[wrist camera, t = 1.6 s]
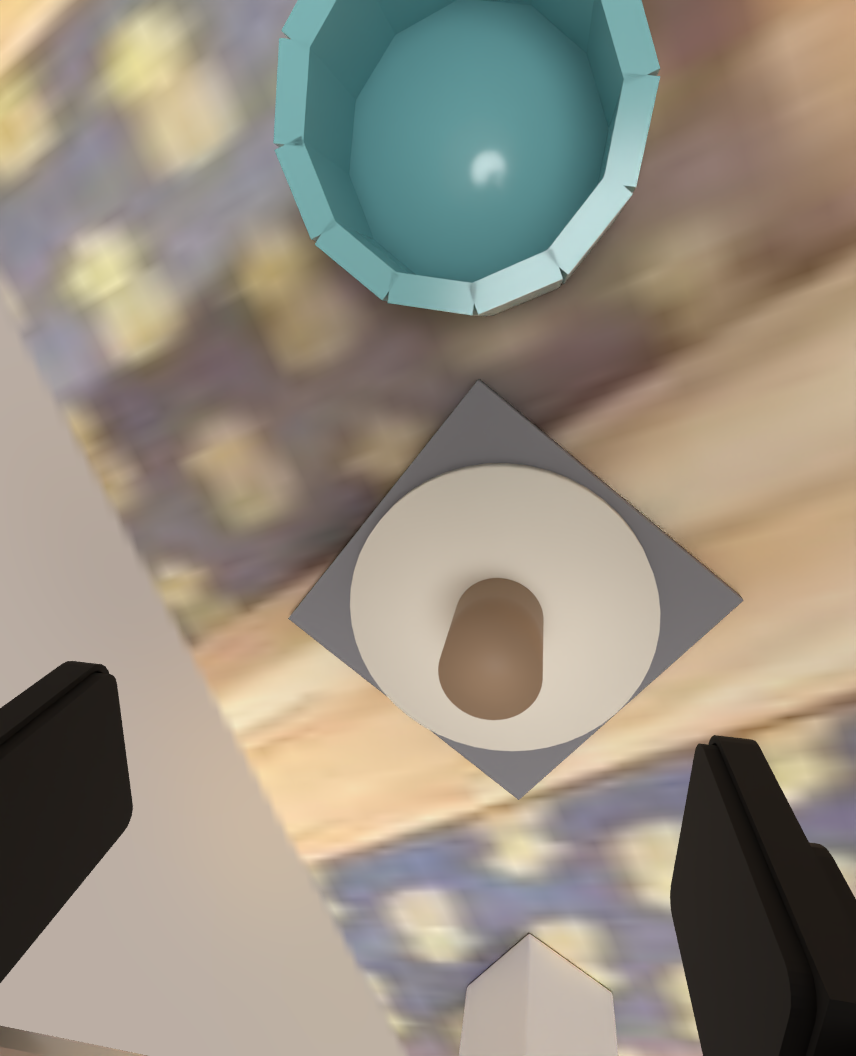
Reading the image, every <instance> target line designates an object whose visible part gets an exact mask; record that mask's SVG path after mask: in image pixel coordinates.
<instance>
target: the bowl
mask: <svg viewBox="0 0 856 1056" xmlns="http://www.w3.org/2000/svg"><path fill="white" fill-rule="evenodd" d="M281 31H282V32H283V33H284V34H285V35H286V36H287V37H288V38H289V39H285V38H279V53H278V71H277V89H276V107H275V125H274V144H276V145H277V146H279V148H278V149H276V150H275V152H276V155H277V157H278V159H279V162H280V164H281V167H282V169H283V172H284V174H285V177H286V179H287V182H288V184H289V186H290V189H291V191H292V194H293V196H294V199H295V201H296V204H297V206H298V209H299V211H300V213H301V216H302V218H303V221H304V223H305V226H306V228H307V231H308V233H309V236H310V238H311V239H312V240H315V241H317V242H316V243H315V245H316V246H317V247H318V248H320V249H321V250H322V251H323V252H325V253H326V254H327V255H328V256H329V257H331V258H332V259H333V260H334V261H335V262H337V263H338V264H339V265H340V266H341V267H343V268H344V269H345V270H346V271H347V272H349V273H350V274H351V275H352V276H353V277H355V278H356V279H357V280H358V281H359V282H361V283H362V284H363V285H364V286H365V287H367V288H368V289H369V290H370V291H371V292H373V293H374V294H375V295H376V296H378V297H379V298H380V299H381V300H383V301H388V303H392V304H398V305H405V306H412V307H419V308H425V309H432V310H439V311H446V312H452V313H459V314H466V315H474V316H488V315H490V316H493V315H495V314H498V313H500V312H503V311H505V310H507V309H510V308H512V307H514V306H517V305H519V304H522V303H524V302H526V301H529V300H531V299H534V298H536V297H538V296H541V295H543V294H545V293H548V292H550V291H553V290H555V289H557V288H560V285H561V283H563V284H565V282H566V281H567V280H568V279H569V277H570V276H571V275H572V274H573V272H574V271H575V270H576V269H577V267H578V266H579V265H580V264H581V262H582V261H583V260H584V259H585V257H586V256H587V255H588V254H589V252H590V251H591V250H592V249H593V247H594V246H595V245H596V244H597V242H598V241H599V240H600V239H601V237H602V236H603V235H604V234H605V232H606V231H607V230H608V229H609V227H610V226H611V225H612V224H613V222H614V221H615V220H616V218H617V217H618V215H619V214H620V212H621V211H622V209H623V208H624V206H625V205H626V203H627V202H628V200H629V199H630V197H631V196H632V195H633V191H634V190H635V188H636V186H637V181H638V177H639V172H640V167H641V163H642V158H643V153H644V149H645V144H646V140H647V135H648V130H649V126H650V121H651V117H652V112H653V107H654V103H655V98H656V93H657V89H658V84H659V80H660V76H657V74H658V72H659V70H660V66H659V63H658V59H657V55H656V52H655V48H654V44H653V41H652V37H651V34H650V30H649V26H648V23H647V19H646V15H645V12H644V8H643V5H642V1H641V0H298V1H297V3H296V5H295V7H294V8H293V10H292V12H291V14H290V16H289V18H288V19H287V21H286V23H285V25H284V27H283V29H282V30H281Z"/></svg>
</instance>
